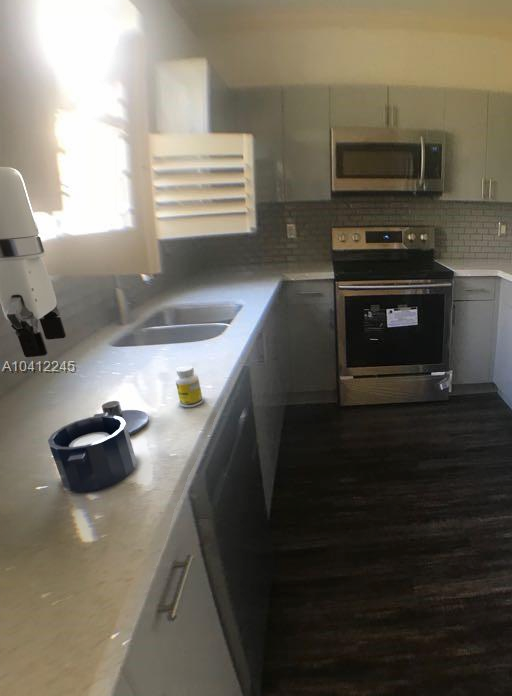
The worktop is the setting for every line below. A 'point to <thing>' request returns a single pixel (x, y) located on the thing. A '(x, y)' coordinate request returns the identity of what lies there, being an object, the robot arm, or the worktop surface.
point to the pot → (93, 454)
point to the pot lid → (126, 416)
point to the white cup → (89, 439)
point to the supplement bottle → (188, 387)
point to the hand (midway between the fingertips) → (46, 346)
